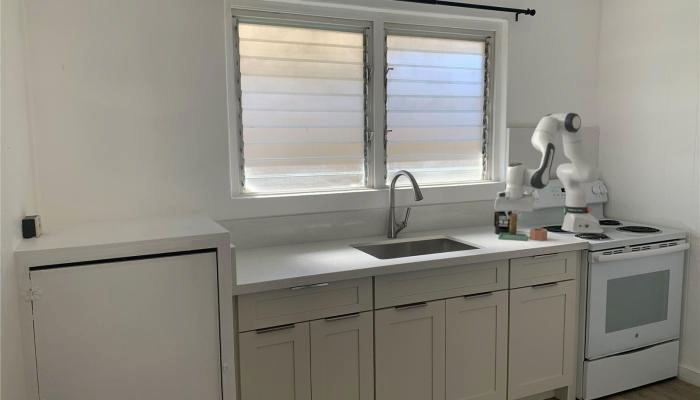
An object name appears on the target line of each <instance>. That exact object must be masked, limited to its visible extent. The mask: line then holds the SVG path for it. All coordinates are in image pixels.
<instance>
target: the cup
mask: <svg viewBox="0 0 700 400" xmlns="http://www.w3.org/2000/svg"><path fill="white" fill-rule="evenodd" d="M529 230H530V232H529V240H531V241H539V242H543V241H544V242H546V241H548V229H545V228H541V227H540V228H537V227H533V228H530V229H529Z"/></svg>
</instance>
